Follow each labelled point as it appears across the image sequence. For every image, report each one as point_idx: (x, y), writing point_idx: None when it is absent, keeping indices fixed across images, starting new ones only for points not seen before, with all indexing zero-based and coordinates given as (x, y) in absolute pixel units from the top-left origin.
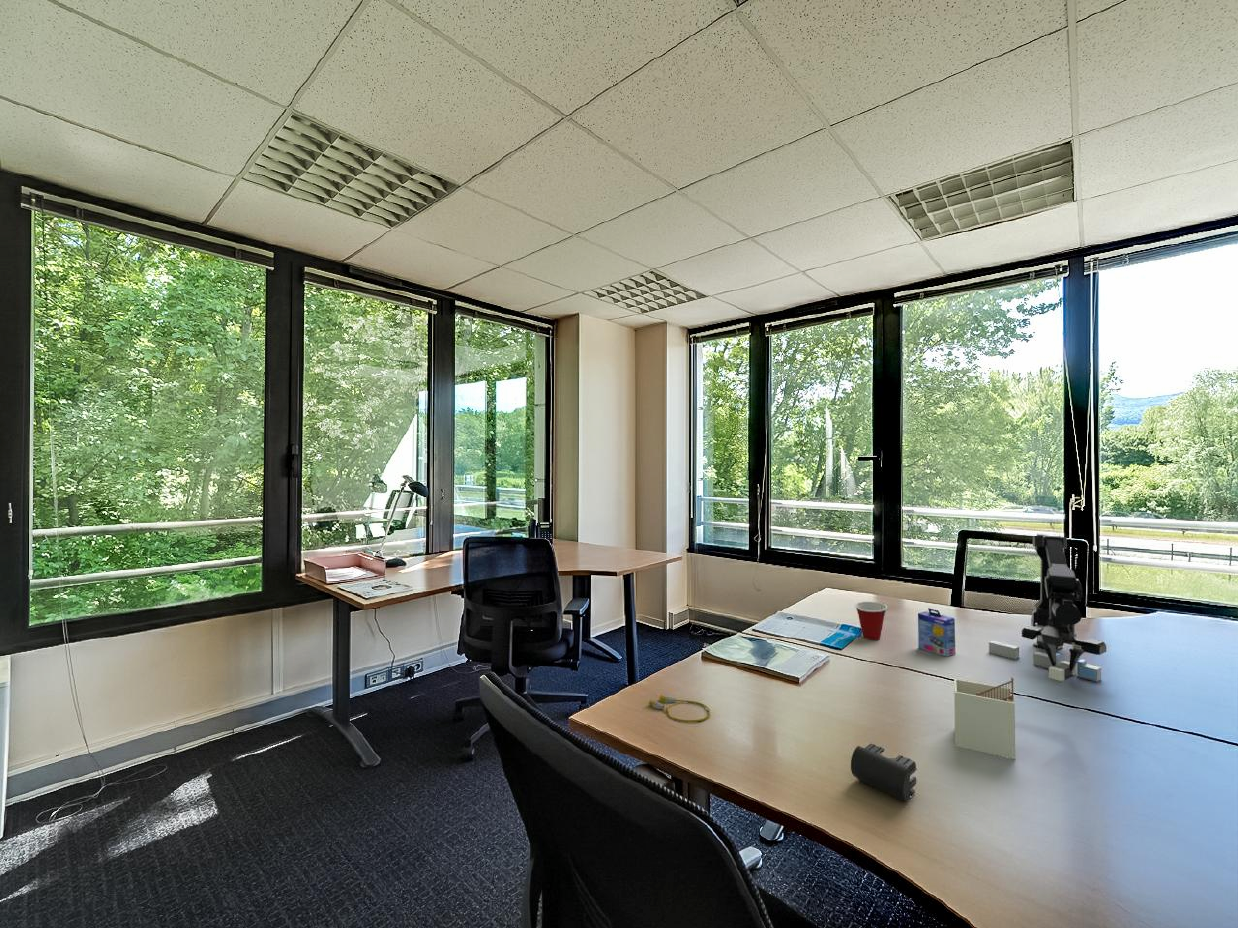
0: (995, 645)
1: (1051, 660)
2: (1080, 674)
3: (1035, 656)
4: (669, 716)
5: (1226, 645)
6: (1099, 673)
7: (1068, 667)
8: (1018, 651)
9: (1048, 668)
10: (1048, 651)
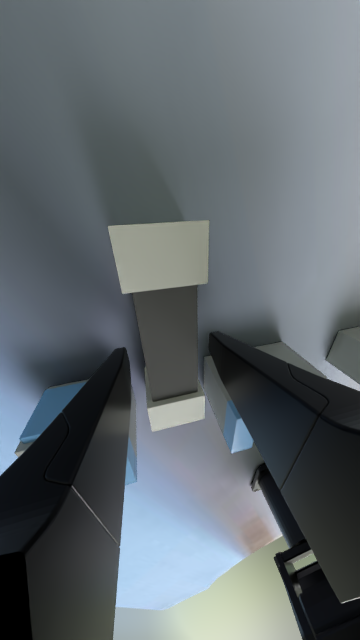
0: None
1: (236, 345)
2: None
3: (305, 367)
4: None
5: (120, 606)
6: None
7: (148, 371)
8: (353, 372)
9: None
10: (311, 386)
